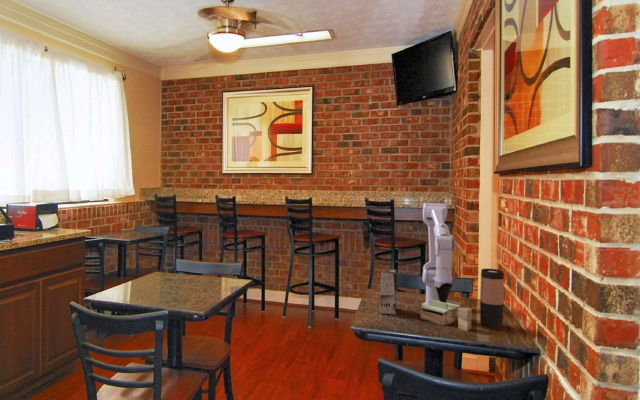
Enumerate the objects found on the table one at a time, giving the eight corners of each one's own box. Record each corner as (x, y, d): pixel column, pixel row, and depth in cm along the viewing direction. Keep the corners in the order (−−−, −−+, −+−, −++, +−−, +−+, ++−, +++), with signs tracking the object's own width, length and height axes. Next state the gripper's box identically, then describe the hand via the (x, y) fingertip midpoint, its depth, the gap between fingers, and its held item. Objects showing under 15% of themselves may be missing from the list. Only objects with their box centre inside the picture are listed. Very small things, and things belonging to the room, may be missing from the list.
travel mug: (474, 323, 137) (476, 269, 137) (490, 321, 140) (491, 268, 140) (491, 330, 130) (493, 273, 130) (507, 328, 133) (509, 271, 133)
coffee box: (396, 314, 146) (397, 273, 146) (379, 313, 147) (380, 272, 147) (396, 308, 155) (397, 269, 155) (380, 307, 156) (381, 268, 156)
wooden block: (462, 326, 134) (462, 306, 134) (471, 328, 132) (471, 308, 132) (457, 328, 132) (458, 308, 132) (466, 330, 129) (467, 310, 130)
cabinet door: (438, 301, 150) (438, 295, 150) (460, 307, 143) (461, 300, 143) (421, 307, 141) (421, 300, 141) (444, 313, 135) (444, 306, 135)
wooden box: (439, 311, 151) (439, 298, 151) (462, 318, 144) (463, 303, 144) (420, 318, 142) (420, 304, 142) (444, 325, 134) (445, 310, 134)
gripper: (440, 263, 151) (439, 297, 151) (426, 268, 140) (425, 305, 140) (457, 266, 147) (457, 300, 147) (445, 270, 136) (444, 308, 135)
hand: (443, 303), depth 143 cm, fingers closed
